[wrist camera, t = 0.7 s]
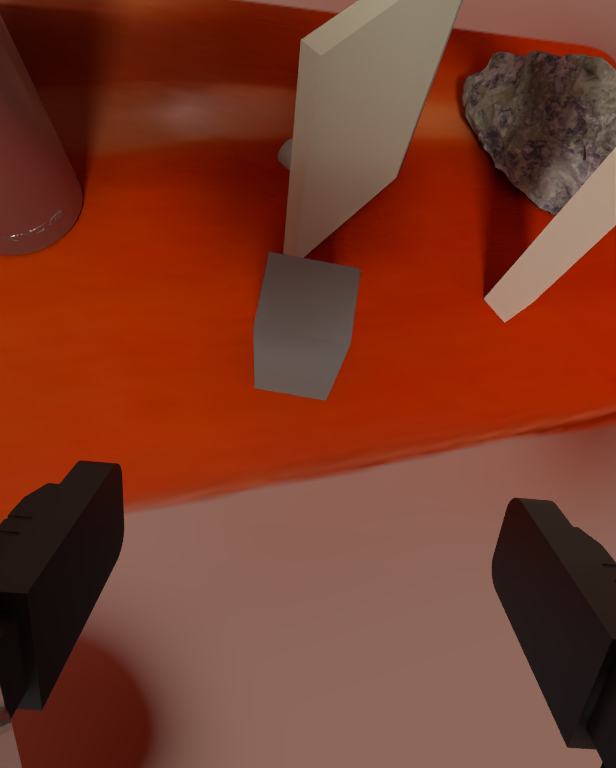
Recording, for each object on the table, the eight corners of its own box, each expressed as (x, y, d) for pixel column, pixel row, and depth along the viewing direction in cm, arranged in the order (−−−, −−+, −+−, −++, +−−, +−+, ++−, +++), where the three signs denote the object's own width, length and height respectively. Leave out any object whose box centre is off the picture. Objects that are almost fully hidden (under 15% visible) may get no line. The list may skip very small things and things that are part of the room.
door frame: (356, 154, 43) (448, -225, 22) (383, 139, 44) (497, -241, 23) (504, 322, 39) (783, 56, 18) (532, 302, 40) (829, 26, 19)
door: (380, 151, 43) (454, -95, 27) (404, 170, 42) (494, -68, 26) (269, 243, 39) (278, 21, 23) (294, 265, 38) (320, 55, 22)
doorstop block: (325, 400, 36) (350, 344, 26) (254, 388, 36) (253, 326, 26) (334, 341, 37) (360, 268, 28) (266, 329, 37) (269, 251, 28)
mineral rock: (450, 98, 46) (500, -21, 36) (562, 96, 47) (639, -19, 38) (482, 222, 42) (548, 125, 33) (604, 216, 43) (701, 121, 34)
